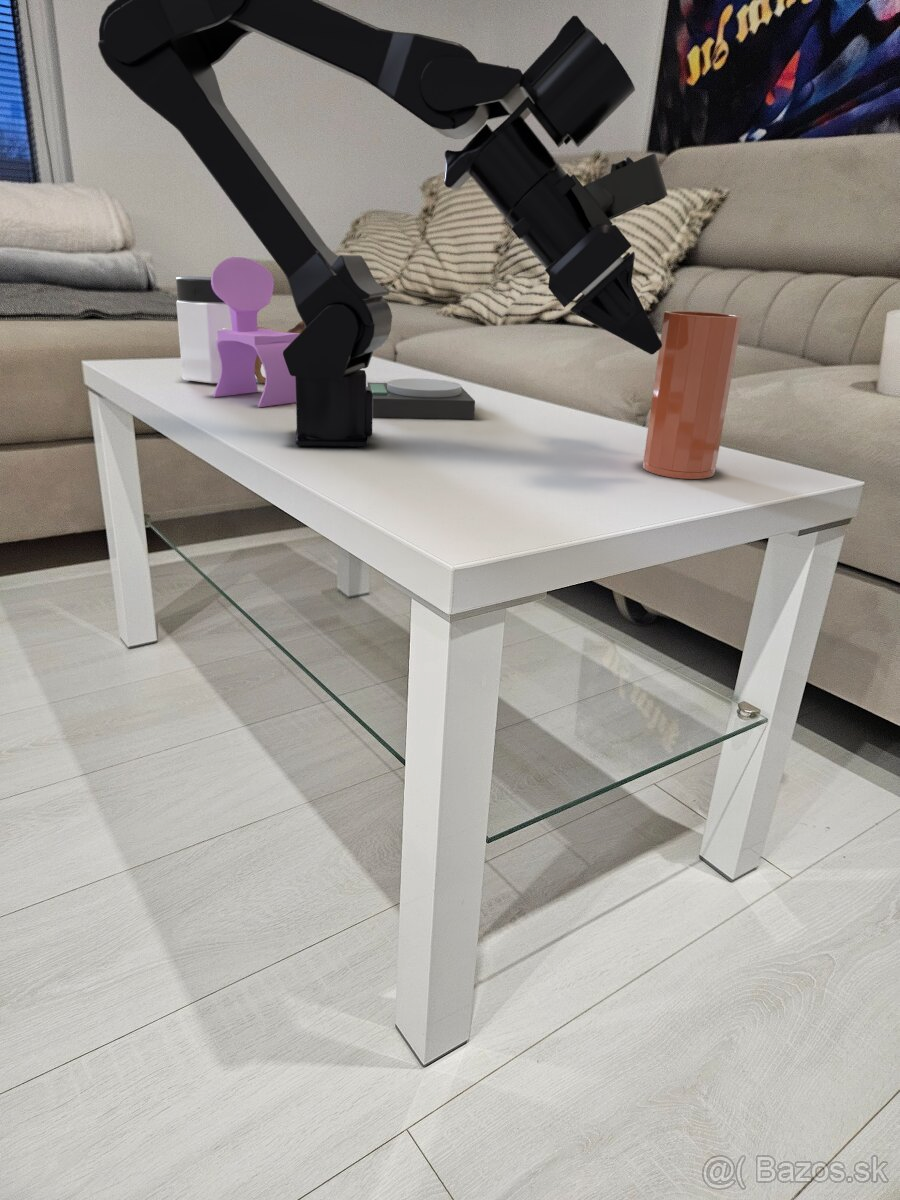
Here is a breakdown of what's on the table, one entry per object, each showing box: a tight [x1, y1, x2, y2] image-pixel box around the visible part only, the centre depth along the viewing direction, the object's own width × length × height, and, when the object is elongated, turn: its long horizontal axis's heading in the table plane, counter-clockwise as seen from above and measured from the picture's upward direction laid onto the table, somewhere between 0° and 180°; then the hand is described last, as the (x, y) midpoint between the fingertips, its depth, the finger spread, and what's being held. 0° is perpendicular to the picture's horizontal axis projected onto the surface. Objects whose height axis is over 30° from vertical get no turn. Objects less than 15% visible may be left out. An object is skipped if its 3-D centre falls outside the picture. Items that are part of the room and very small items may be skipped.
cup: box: [642, 310, 743, 480], centre depth 70 cm, size 6×6×13 cm
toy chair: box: [210, 256, 299, 408], centre depth 92 cm, size 8×9×15 cm
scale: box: [367, 377, 476, 420], centre depth 93 cm, size 11×11×3 cm
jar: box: [175, 276, 232, 384], centre depth 104 cm, size 9×8×12 cm
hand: (654, 344), depth 69 cm, fingers open, 9 cm apart
